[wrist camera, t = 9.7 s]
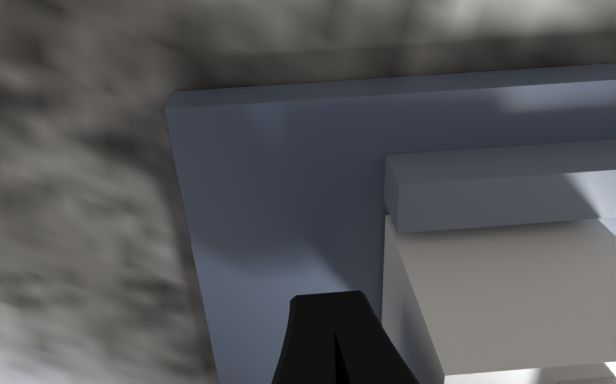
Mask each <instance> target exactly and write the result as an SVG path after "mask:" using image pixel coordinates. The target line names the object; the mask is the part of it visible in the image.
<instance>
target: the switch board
mask: <svg viewBox="0 0 616 384" xmlns="http://www.w3.org/2000/svg"><path fill="white" fill-rule="evenodd" d="M164 114H165V119H166V124H167V129H168V134H169V139H170V144H171V148H172V153H173V158H174V163H175V168H176V173H177V178H178V183H179V188H180V193H181V198H182V203H183V208H184V213H185V218H186V222H187V227H188V232H189V237H190V242H191V247H192V252H193V257H194V262H195V267H196V272H197V277H198V282H199V287H200V291H201V296H202V301H203V306H204V311H205V316H206V321H207V326H208V331H209V336H210V341H211V346H212V351H213V356H214V361H215V365H216V370H217V375H218V380H219V384H271V383H272V380H273V376H274V373H275V370H276V367H277V364H278V361H279V357H280V354H281V350H282V346H283V342H284V338H285V334H286V329H287V324H288V318H289V310H290V300H291V299H292V298H293V297H294V296H296V295H305V294H318V293H330V292H343V291H355V290H360V291H361V292H363V293H364V294H365V295H366V297H367V299H368V301H369V303H370V305H371V307H372V309H373V311H374V313H375V315H376V316H377V318H378V320H379V322H380V323H381V325H382V297H383V270H384V243H385V217H386V215H390V217H391V220H392V222H393V225H394V228H395V230H396V233H397V234H398V233H411V232H425V231H438V230H451V229H465V228H478V227H492V226H505V225H518V224H532V223H545V222H559V221H572V220H585V219H598V220H599V221H600V222H601V223H602V224H603V225H605V226H606V227H607V228H608V229H609V230H610V231H611V232H612V233H613V234H614V235H615V236H616V63H605V64H590V65H574V66H559V67H544V68H528V69H513V70H497V71H482V72H467V73H451V74H436V75H420V76H405V77H390V78H374V79H359V80H343V81H328V82H313V83H297V84H282V85H267V86H251V87H236V88H220V89H205V90H190V91H174V92H173V93H172V95H171V97H170V99H169V101H168V102H167V104H166V106H165V108H164Z"/></svg>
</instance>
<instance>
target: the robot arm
mask: <svg viewBox="0 0 616 384" xmlns="http://www.w3.org/2000/svg"><path fill="white" fill-rule="evenodd" d="M271 384H420V383H419V381H418V380H417V378H416V377H415V376H414V374H413V373H412V371H411V370H410V369H409V367H408V366H407V364H406V363H405V361H404V360H403V358H402V357H401V355H400V354H399V352H398V351H397V349H396V348H395V346H394V345H393V343H392V342H391V340H390V338H389V337H388V335H387V333H386V332H385V330H384V329H383V327H382V325H381V323H380V322H379V320H378V318H377V316H376V315H375V313H374V311H373V309H372V307H371V305H370V303H369V301H368V299H367V297H366V295H365V294H364V293H363V292H361V291H360V290H355V291H343V292H330V293H318V294H305V295H296V296H294V297H293V298H292V299H291V300H290V310H289V318H288V324H287V329H286V334H285V338H284V342H283V346H282V350H281V354H280V357H279V361H278V364H277V367H276V370H275V373H274V376H273V380H272V383H271Z"/></svg>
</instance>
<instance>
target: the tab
mask: <svg viewBox="0 0 616 384" xmlns="http://www.w3.org/2000/svg"><path fill="white" fill-rule="evenodd" d="M382 327H383V329H384V330H385V332H386V333H387V335H388V337H389V338H390V340H391V342H392V343H393V345H394V346H395V348H396V349H397V351H398V352H399V354H400V355H401V357H402V358H403V360H404V361H405V363H406V364H407V366H408V367H409V369H410V370H411V371H412V373H413V374H414V376H415V377H416V378H417V380H418V381H419V383H420V384H616V236H615V235H614V234H613V233H612V232H611V231H610V230H609V229H608V228H607V227H606V226H605V225H603V224H602V223H601V222H600V221H599V220H598V219H585V220H572V221H559V222H545V223H532V224H518V225H505V226H492V227H478V228H465V229H451V230H438V231H425V232H411V233H398V234H397V233H396V230H395V228H394V225H393V222H392V220H391V217H390V215H386V217H385V243H384V270H383V297H382Z"/></svg>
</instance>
